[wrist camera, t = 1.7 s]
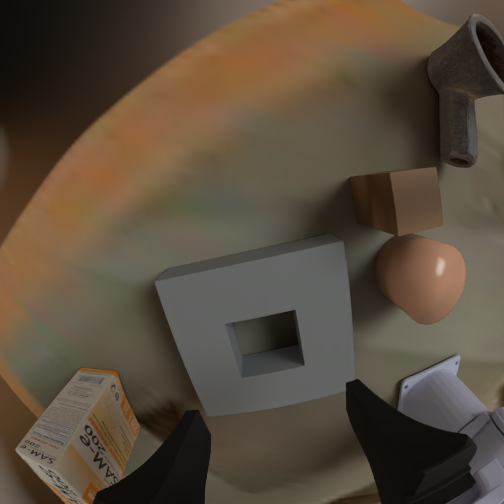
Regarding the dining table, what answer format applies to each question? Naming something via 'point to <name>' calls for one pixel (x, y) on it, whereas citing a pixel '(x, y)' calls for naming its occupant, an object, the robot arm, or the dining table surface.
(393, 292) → the peach egg-shaped blob
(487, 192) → the dining table surface
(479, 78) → the pipe
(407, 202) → the square peg
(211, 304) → the block
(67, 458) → the supplement box
